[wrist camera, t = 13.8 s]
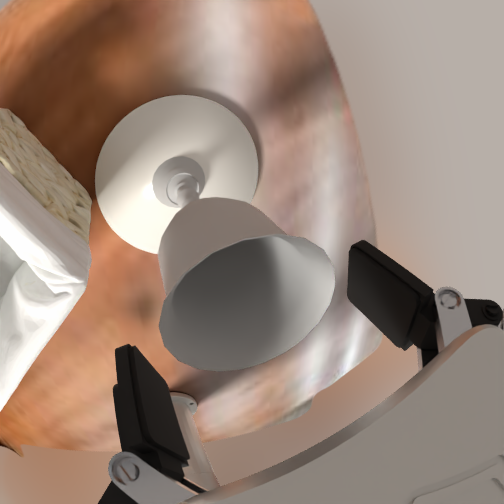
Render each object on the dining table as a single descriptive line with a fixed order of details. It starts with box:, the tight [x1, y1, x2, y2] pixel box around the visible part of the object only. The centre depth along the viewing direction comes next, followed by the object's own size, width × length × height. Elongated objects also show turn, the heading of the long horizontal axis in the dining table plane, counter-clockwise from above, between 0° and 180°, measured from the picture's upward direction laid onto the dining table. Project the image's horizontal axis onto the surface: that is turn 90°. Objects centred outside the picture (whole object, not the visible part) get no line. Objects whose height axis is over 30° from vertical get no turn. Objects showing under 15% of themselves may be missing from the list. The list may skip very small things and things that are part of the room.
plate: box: [95, 95, 258, 254], centre depth 25 cm, size 16×16×1 cm
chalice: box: [152, 156, 335, 372], centre depth 17 cm, size 7×7×18 cm
